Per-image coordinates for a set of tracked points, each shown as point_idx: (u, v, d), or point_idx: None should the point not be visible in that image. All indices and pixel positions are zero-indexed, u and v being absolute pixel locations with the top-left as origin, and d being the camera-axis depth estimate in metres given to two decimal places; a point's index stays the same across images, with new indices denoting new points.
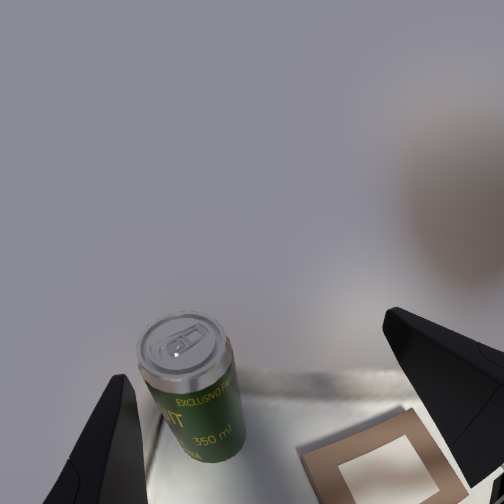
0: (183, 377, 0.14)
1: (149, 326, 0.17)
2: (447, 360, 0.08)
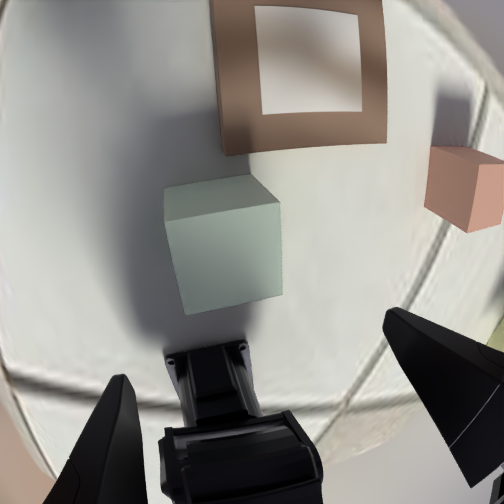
0: None
1: None
2: (447, 360, 0.08)
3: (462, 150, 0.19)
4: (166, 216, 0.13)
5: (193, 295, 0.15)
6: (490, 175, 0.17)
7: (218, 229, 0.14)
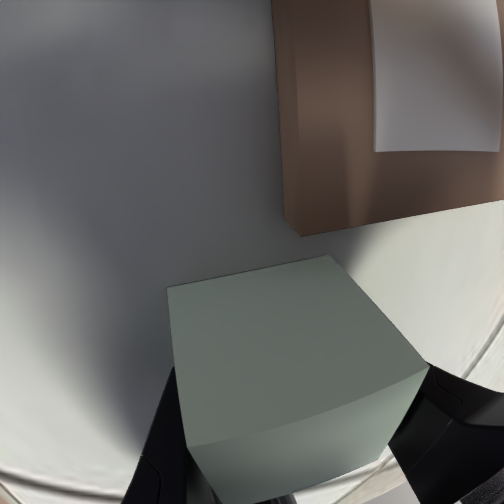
0: None
1: None
2: None
3: None
4: (188, 420, 0.05)
5: (242, 496, 0.07)
6: None
7: (307, 435, 0.05)
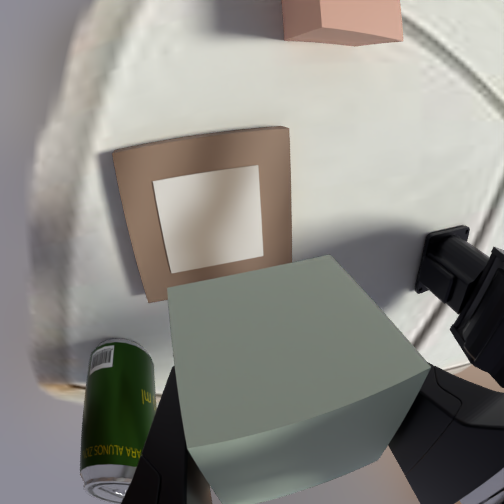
0: None
1: (110, 502, 0.14)
2: None
3: None
4: (188, 421, 0.05)
5: (242, 497, 0.07)
6: None
7: (308, 436, 0.05)
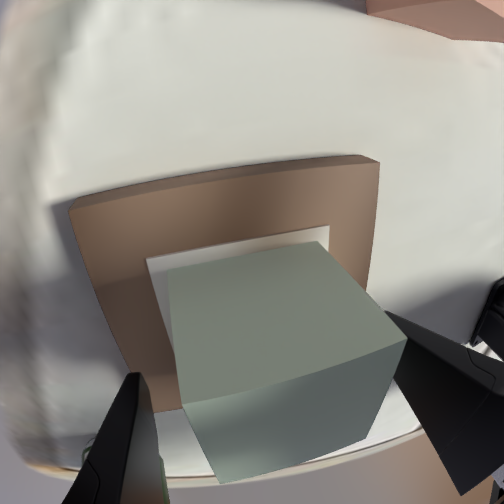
0: None
1: None
2: (435, 366, 0.07)
3: None
4: (184, 381, 0.06)
5: (235, 468, 0.07)
6: None
7: (293, 399, 0.06)
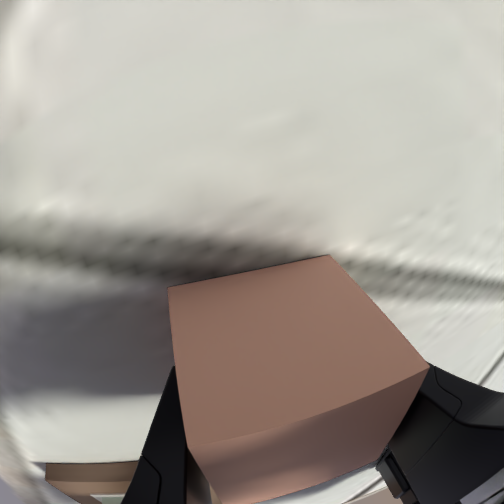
0: None
1: None
2: None
3: None
4: None
5: None
6: (248, 489, 0.06)
7: None
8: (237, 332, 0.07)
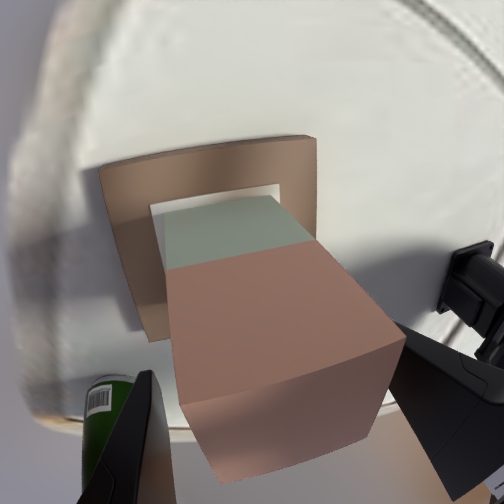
0: None
1: None
2: (426, 371, 0.07)
3: None
4: (169, 260, 0.10)
5: None
6: (240, 459, 0.07)
7: None
8: (227, 307, 0.08)
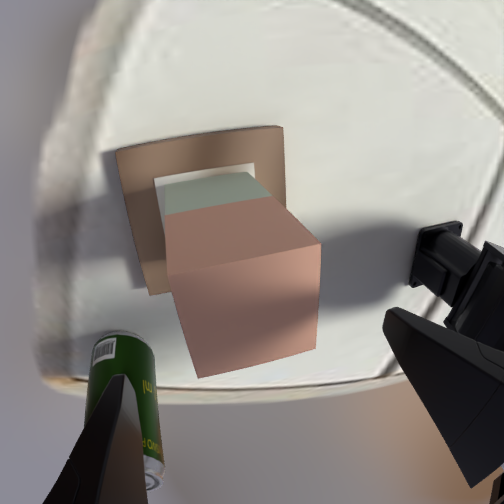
0: (161, 479, 0.15)
1: None
2: (447, 360, 0.08)
3: None
4: (167, 210, 0.14)
5: None
6: (210, 345, 0.11)
7: None
8: (204, 230, 0.12)
